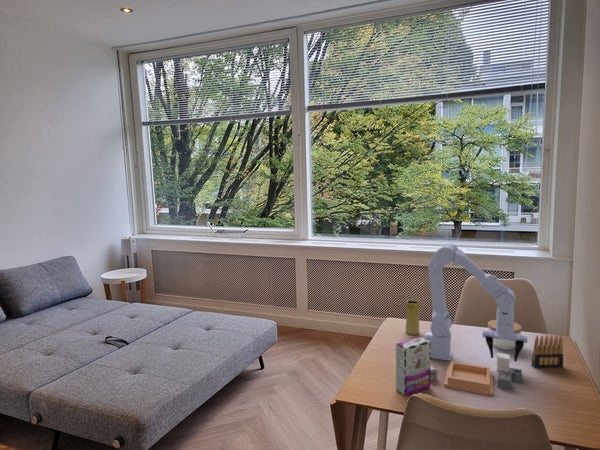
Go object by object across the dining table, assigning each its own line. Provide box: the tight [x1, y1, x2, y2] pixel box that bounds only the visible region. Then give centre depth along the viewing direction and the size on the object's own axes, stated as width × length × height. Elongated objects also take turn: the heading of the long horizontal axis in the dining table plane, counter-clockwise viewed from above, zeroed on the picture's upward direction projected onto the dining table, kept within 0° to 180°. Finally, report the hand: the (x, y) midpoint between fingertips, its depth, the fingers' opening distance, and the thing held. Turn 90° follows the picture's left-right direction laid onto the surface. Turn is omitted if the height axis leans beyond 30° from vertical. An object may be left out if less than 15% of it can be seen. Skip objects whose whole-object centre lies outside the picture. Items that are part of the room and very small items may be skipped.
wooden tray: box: [443, 360, 494, 396], centre depth 144 cm, size 15×15×3 cm
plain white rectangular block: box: [496, 352, 511, 373], centre depth 152 cm, size 4×4×5 cm
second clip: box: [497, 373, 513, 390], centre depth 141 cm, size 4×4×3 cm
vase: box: [404, 299, 420, 336], centre depth 187 cm, size 6×6×14 cm
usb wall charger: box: [430, 364, 438, 382], centre depth 148 cm, size 4×7×4 cm, turn 15°
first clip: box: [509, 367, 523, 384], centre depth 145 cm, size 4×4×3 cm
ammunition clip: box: [531, 335, 564, 369], centre depth 153 cm, size 11×2×12 cm, turn 91°
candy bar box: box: [395, 336, 431, 397], centre depth 138 cm, size 11×5×16 cm, turn 117°
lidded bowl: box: [487, 319, 523, 351], centre depth 172 cm, size 13×13×11 cm
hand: (503, 358), depth 152 cm, fingers open, 7 cm apart
